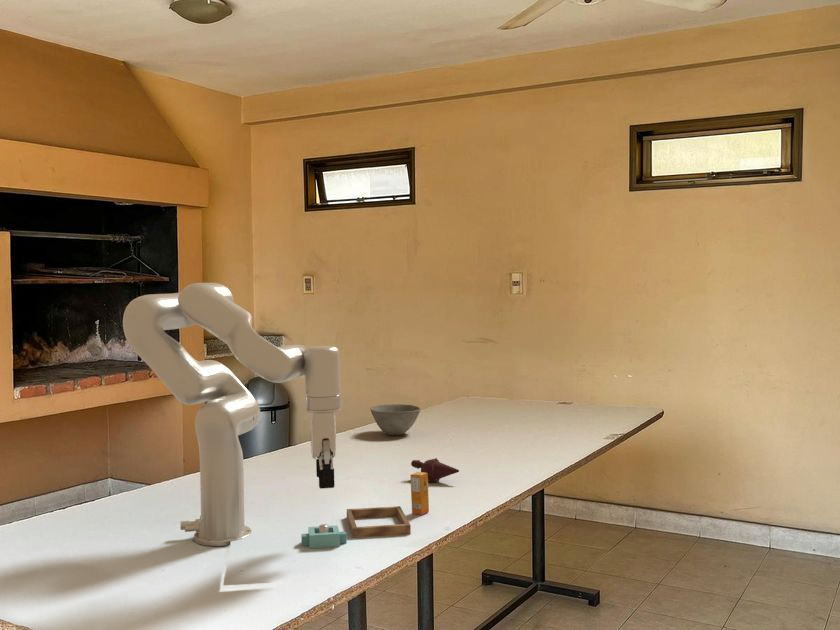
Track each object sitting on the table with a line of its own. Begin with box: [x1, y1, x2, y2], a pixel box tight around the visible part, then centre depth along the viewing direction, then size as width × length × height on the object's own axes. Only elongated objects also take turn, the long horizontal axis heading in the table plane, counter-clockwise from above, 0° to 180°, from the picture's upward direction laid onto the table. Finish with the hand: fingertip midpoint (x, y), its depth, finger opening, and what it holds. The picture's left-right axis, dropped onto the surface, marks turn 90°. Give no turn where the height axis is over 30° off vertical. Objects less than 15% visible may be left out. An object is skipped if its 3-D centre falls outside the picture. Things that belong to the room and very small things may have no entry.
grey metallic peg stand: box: [318, 523, 329, 533], centre depth 173 cm, size 5×5×5 cm
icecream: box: [410, 457, 460, 484], centre depth 229 cm, size 7×7×15 cm
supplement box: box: [410, 471, 430, 516], centre depth 198 cm, size 3×3×10 cm
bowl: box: [370, 403, 422, 436], centre depth 297 cm, size 19×19×10 cm
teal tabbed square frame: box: [301, 525, 347, 549], centre depth 173 cm, size 10×6×3 cm, turn 100°
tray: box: [346, 505, 412, 539], centre depth 186 cm, size 13×15×3 cm
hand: (325, 482), depth 173 cm, fingers open, 9 cm apart
